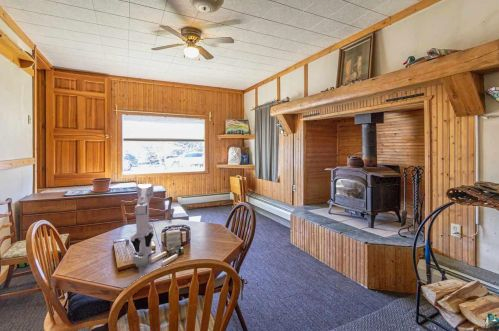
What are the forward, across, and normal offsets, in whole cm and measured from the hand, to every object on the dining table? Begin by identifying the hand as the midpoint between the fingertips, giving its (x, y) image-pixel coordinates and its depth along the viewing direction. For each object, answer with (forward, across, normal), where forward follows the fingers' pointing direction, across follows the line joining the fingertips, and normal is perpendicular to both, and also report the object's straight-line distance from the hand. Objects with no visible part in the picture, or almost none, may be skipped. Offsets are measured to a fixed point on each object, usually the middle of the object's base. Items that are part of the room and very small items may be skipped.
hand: (142, 249), depth 148 cm
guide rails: (+9, +10, -6) cm, 15 cm away
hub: (+10, -1, +1) cm, 10 cm away
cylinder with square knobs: (+9, +20, -6) cm, 23 cm away
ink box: (+10, +26, 0) cm, 28 cm away
